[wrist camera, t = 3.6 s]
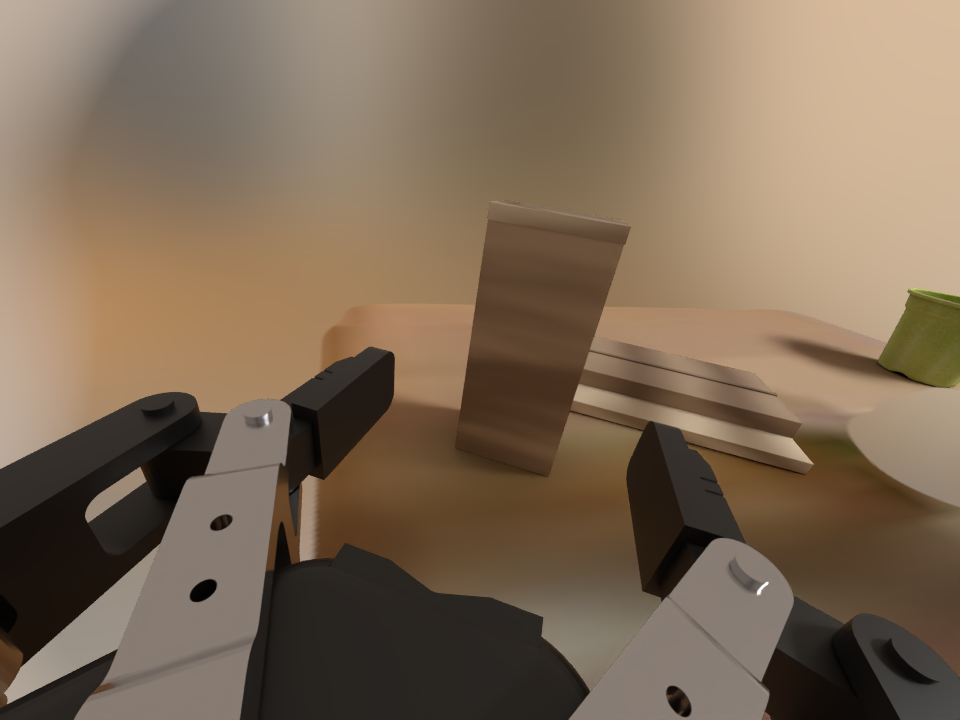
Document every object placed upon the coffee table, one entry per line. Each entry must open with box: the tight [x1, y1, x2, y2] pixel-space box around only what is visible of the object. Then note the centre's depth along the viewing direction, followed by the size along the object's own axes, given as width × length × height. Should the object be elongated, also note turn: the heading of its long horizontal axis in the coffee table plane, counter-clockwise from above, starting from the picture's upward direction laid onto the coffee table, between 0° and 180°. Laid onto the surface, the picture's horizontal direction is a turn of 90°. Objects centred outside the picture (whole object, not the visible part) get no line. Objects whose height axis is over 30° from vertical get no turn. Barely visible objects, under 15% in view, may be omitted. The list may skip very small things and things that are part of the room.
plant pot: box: [878, 288, 960, 388], centre depth 37 cm, size 9×9×9 cm
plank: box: [455, 200, 631, 477], centre depth 17 cm, size 4×5×12 cm
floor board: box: [570, 336, 814, 474], centre depth 26 cm, size 18×10×2 cm, turn 75°
